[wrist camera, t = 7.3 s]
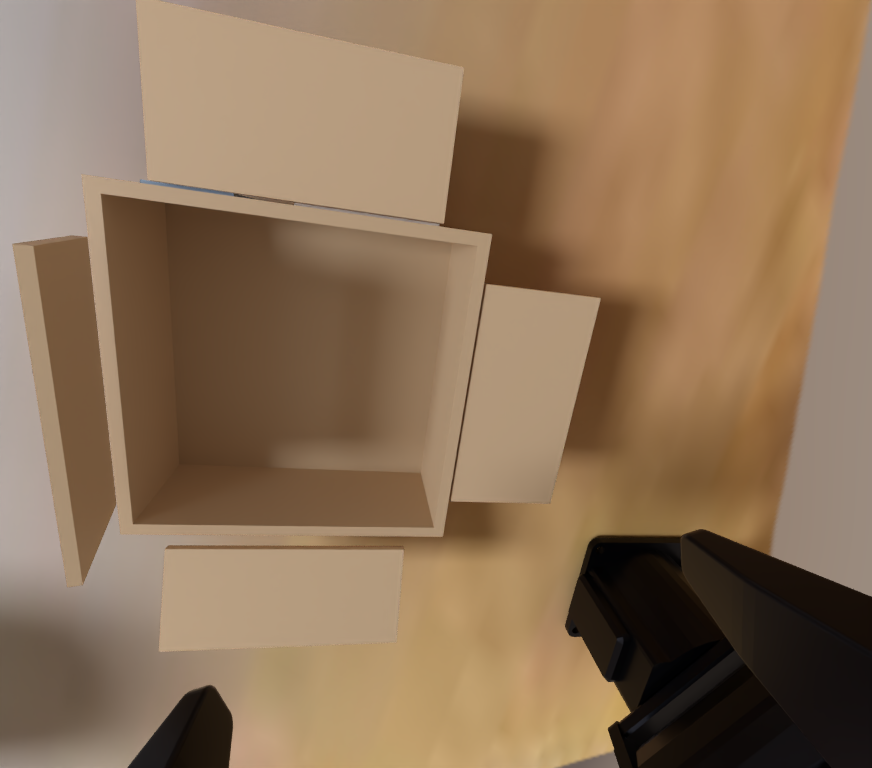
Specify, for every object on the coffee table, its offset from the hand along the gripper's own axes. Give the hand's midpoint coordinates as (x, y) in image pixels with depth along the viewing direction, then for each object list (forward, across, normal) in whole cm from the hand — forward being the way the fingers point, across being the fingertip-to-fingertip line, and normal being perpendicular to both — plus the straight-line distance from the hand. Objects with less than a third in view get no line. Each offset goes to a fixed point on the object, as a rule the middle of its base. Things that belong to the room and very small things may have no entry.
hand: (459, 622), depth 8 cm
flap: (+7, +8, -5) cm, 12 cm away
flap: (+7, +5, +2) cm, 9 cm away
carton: (+12, 0, -4) cm, 13 cm away
